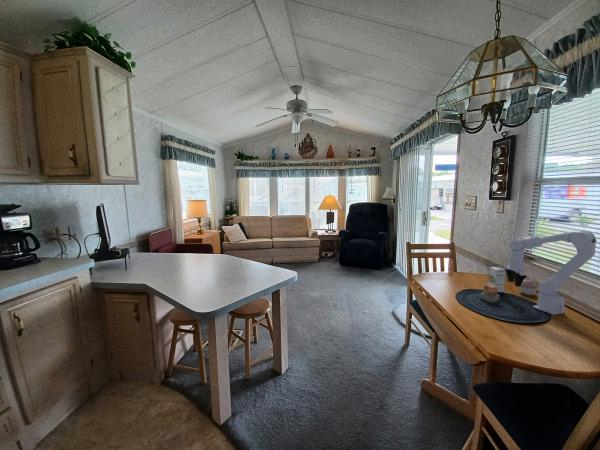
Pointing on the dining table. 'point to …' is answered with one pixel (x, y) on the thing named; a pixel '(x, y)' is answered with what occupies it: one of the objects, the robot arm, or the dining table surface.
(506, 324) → the dining table surface
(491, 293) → the terracotta cube
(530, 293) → the cupcake
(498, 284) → the syrup box
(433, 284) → the dining table surface
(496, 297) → the slate slab block
